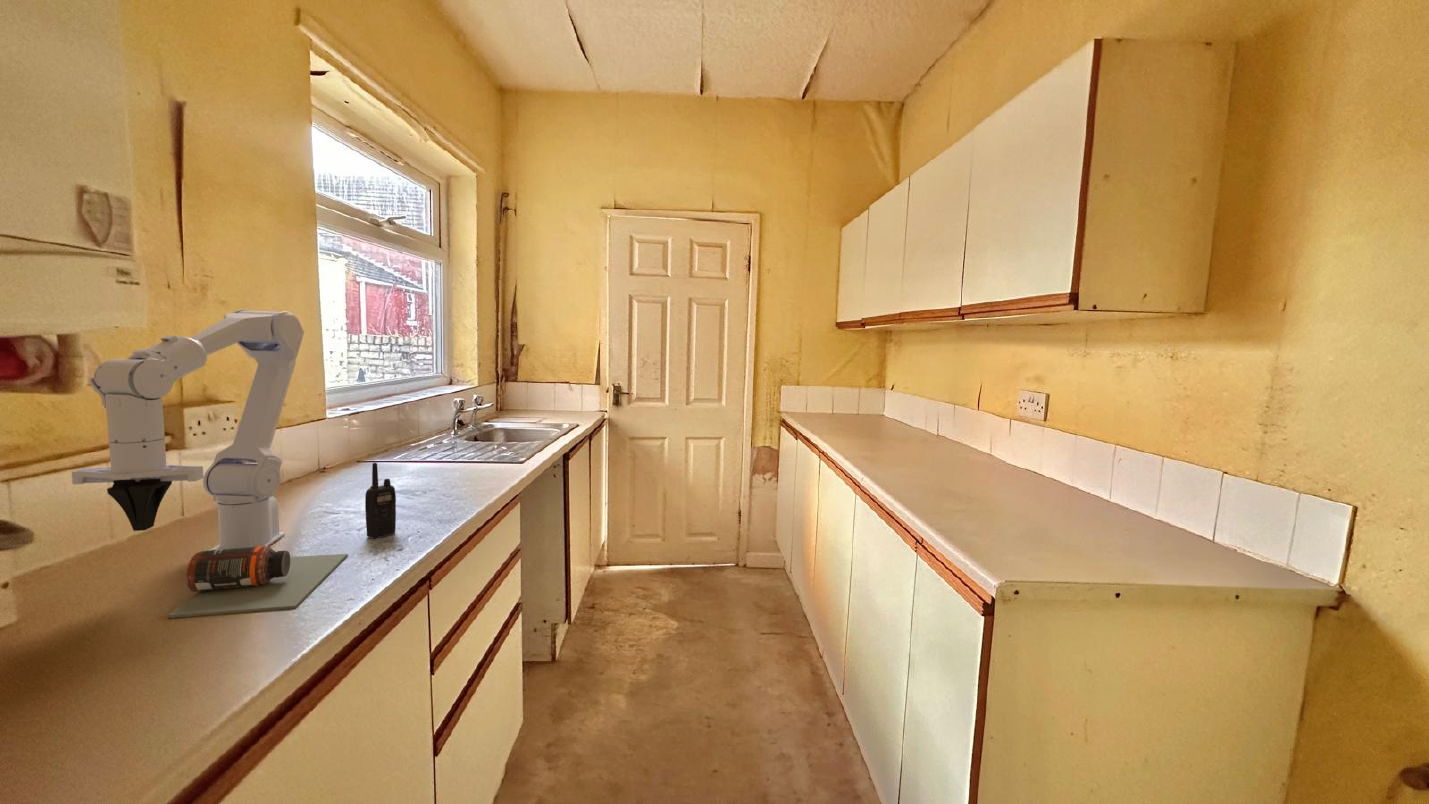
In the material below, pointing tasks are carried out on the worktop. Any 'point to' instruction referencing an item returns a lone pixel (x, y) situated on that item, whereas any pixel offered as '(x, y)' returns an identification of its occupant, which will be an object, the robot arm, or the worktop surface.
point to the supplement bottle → (236, 568)
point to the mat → (265, 590)
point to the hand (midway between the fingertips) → (143, 528)
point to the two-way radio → (380, 507)
